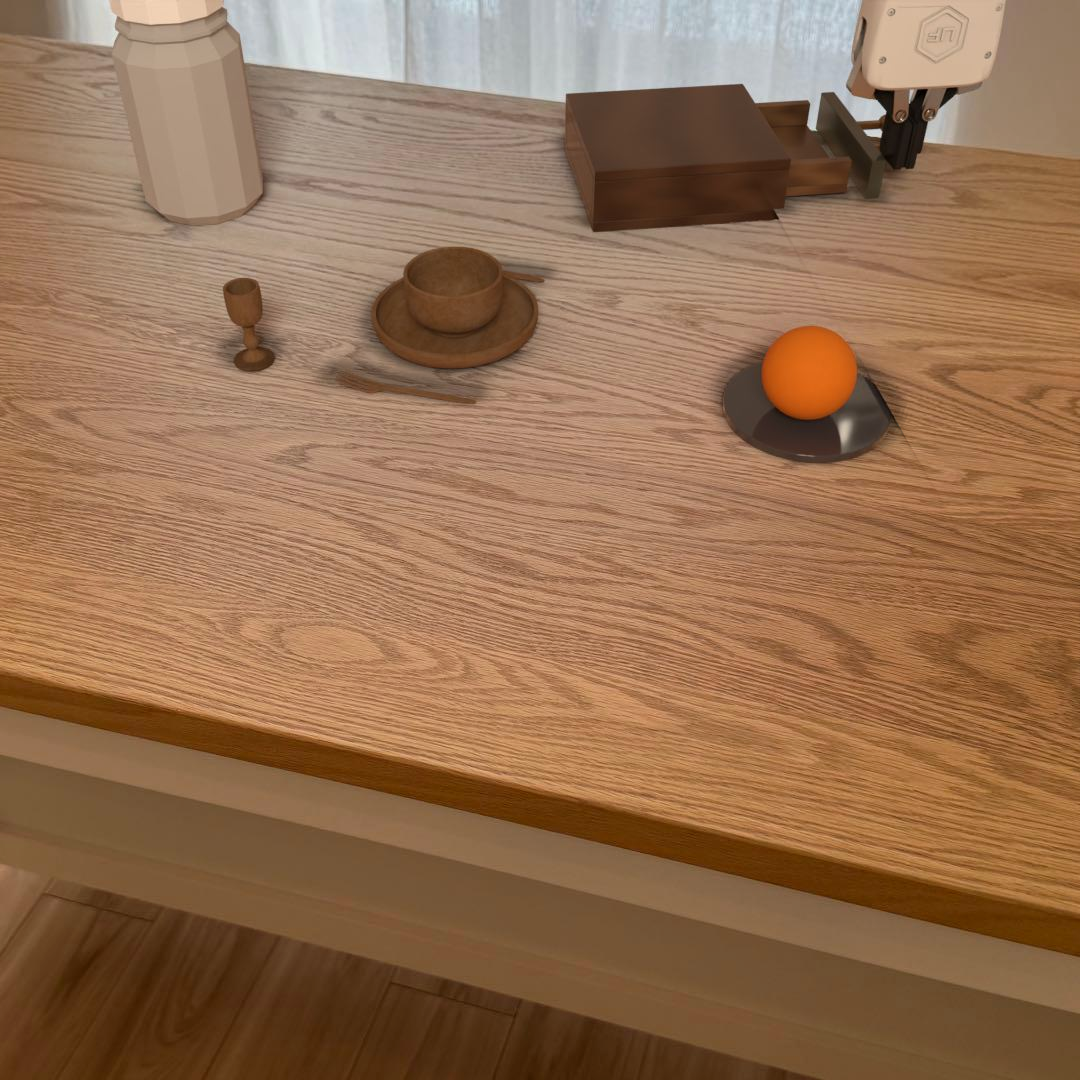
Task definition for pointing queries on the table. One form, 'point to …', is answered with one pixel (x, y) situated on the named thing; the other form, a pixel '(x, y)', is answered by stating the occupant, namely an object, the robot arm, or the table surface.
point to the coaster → (805, 422)
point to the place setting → (423, 315)
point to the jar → (187, 108)
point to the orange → (809, 372)
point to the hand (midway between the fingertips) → (897, 161)
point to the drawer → (840, 135)
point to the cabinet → (674, 157)
